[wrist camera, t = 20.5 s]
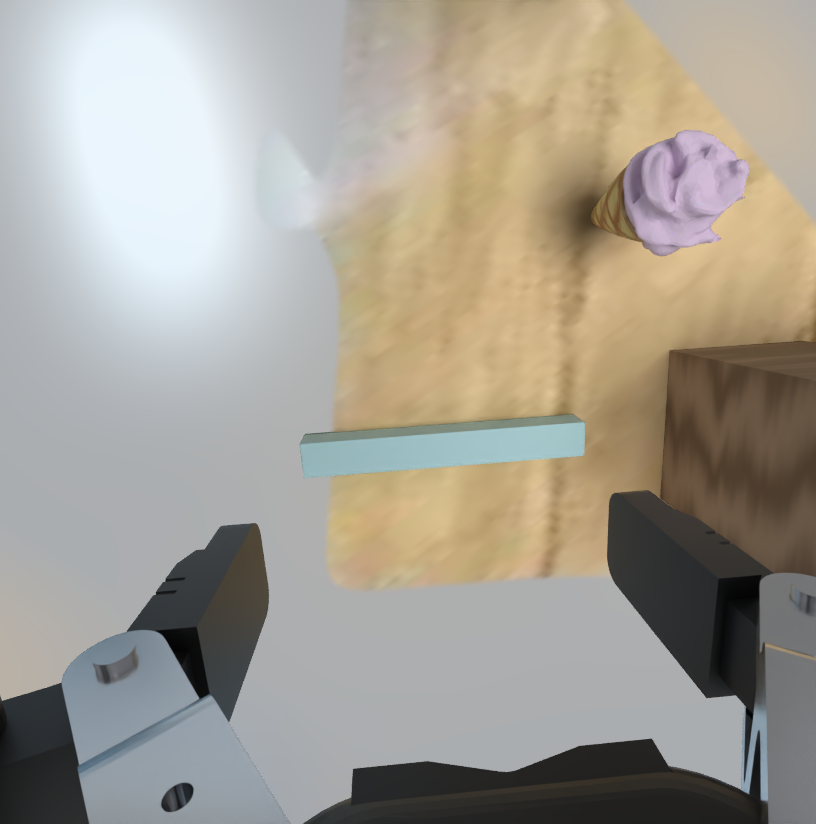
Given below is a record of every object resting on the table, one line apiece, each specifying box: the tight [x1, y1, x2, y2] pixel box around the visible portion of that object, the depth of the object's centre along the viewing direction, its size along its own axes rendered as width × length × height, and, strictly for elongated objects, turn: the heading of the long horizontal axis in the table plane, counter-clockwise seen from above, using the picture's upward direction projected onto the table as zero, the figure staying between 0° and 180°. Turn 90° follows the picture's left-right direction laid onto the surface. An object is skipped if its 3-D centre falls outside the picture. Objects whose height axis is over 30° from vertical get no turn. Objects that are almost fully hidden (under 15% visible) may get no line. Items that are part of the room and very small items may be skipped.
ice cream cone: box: [591, 130, 749, 256], centre depth 33 cm, size 7×6×15 cm
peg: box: [300, 414, 585, 478], centre depth 43 cm, size 24×3×3 cm, turn 94°
